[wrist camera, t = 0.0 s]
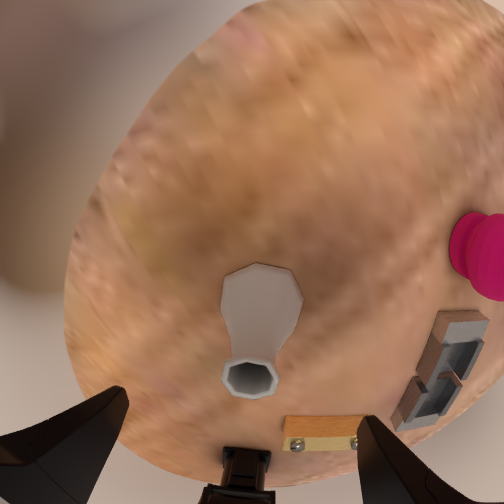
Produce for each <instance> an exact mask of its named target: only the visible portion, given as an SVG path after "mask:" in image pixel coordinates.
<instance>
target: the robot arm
mask: <svg viewBox="0 0 504 504" xmlns="http://www.w3.org/2000/svg"><path fill="white" fill-rule="evenodd" d="M128 407H129V400H128V397H127V393H126V390H125V389H124V388H123V387H120V386H117V385H115V386H112V387H110V388H108V389H107V390H105V391H103V392H101V393H99V394H97V395H95V396H93V397H91V398H89V399H88V400H86V401H84V402H82V403H80V404H78V405H76V406H74V407H72V408H70V409H68V410H66V411H64V412H62V413H60V414H58V415H56V416H53V417H51V418H49V420H45V421H43V422H41V423H38V424H36V425H34V426H31V427H28V428H25V429H23V430H20V431H16V432H13V433H10V434H6V435H3V436H0V504H86V503H87V502H88V499H89V497H90V495H91V493H92V490H93V488H94V486H95V484H96V482H97V480H98V477H99V475H100V473H101V471H102V469H103V467H104V465H105V463H106V460H107V458H108V456H109V454H110V452H111V450H112V448H113V446H114V444H115V442H116V440H117V438H118V436H119V433H120V430H121V427H122V424H123V421H124V419H125V416H126V413H127V410H128ZM356 435H357V458H358V471H359V476H360V484H361V491H362V498H363V504H504V502H498V503H497V502H496V503H493V502H492V503H485V502H476V501H473V500H471V499H469V498H467V497H465V496H464V495H463V494H461V493H460V492H458V491H457V490H455V489H454V488H453V487H451V486H450V485H448V484H447V483H446V482H444V481H443V480H442V479H441V478H439V477H438V476H437V475H436V474H435V473H434V472H433V471H432V470H431V469H430V468H428V467H427V466H426V465H425V464H424V463H423V462H422V461H421V460H420V459H419V458H418V457H417V456H416V455H415V454H414V453H413V452H412V451H411V450H410V449H409V448H408V447H407V446H406V445H405V444H404V443H403V442H401V441H400V440H399V439H398V438H397V437H396V436H395V435H394V434H393V433H392V432H391V431H390V430H389V429H388V428H387V427H386V426H385V425H384V424H383V423H382V422H381V421H380V420H379V419H378V418H377V417H376V416H375V415H366V416H364V417H363V418H362V420H361V422H360V424H359V426H358V428H357V432H356ZM270 458H271V452H268V451H255V450H245V449H237V448H229V447H224V448H223V468H224V470H223V475H222V480H221V484H220V486H218V485H213V484H210V483H208V486H207V487H204V489H203V493H202V496H201V498H200V501H199V502H198V504H275V491H264V482H265V473H266V472H267V470H268V466H269V462H270Z"/></svg>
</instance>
